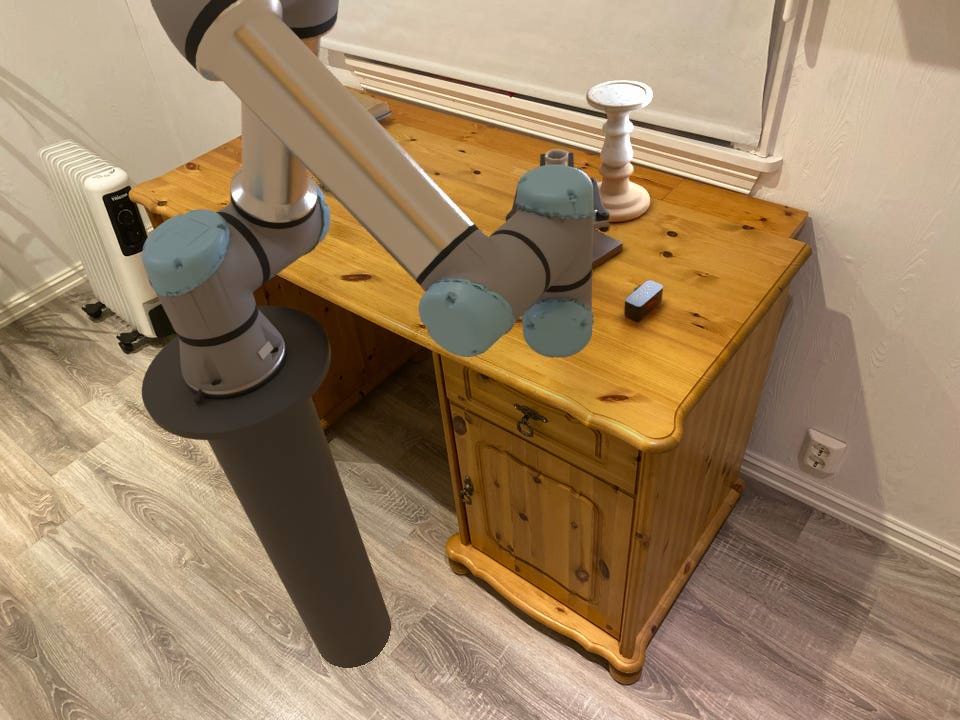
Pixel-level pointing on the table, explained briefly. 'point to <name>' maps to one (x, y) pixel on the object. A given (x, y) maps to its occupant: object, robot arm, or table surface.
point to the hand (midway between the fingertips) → (556, 162)
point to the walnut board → (604, 248)
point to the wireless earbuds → (643, 300)
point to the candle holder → (619, 147)
